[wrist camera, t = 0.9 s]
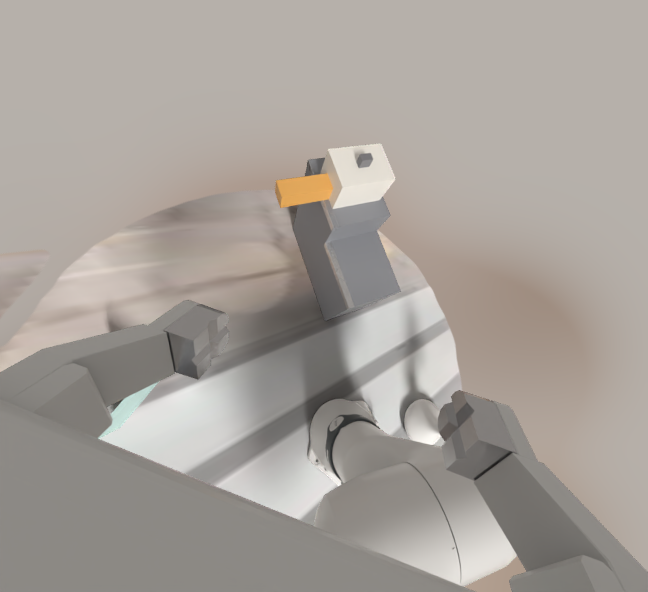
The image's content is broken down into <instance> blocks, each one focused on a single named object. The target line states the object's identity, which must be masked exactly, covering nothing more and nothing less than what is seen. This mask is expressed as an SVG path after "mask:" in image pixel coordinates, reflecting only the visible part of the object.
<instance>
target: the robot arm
mask: <svg viewBox="0 0 648 592" xmlns="http://www.w3.org/2000/svg"><path fill="white" fill-rule="evenodd" d="M228 322H229V318H228V314H226V313H224V312H222V311H219V310H216V309H213V308H211V307H208V306H205V305H202V304H198V303H196V302H193V301H190V300H185V301H183V302H181V303H180V304H178V305H177V306H175V307H174V308H172V309H171V310H169V311H168V312H167V313H165V314H164V315H162V316H161V317H159V318H158V319H156V320H155V321H154V322H152V323H151V324H149V325H148V326H147V325H144V324H142V325H138V326H134V327H130V328H126V329H122V330H118V331H114V332H110V333H106V334H102V335H98V336H94V337H90V338H86V339H82V340H78V341H74V342H70V343H66V344H62V345H57V346H53V347H49V348H45V349H42V350H40V351H38V352H36V353H34V354H33V355H31V356H29V357H27V358H25V359H24V360H22V361H20V362H18V363H16V364H14V365H13V366H11V367H9V368H7V369H5V370H4V371H2V372H0V592H475V591H473V590H470V589H467V588H465V587H464V586H466V585H468V584H470V583H472V582H474V581H476V580H479V579H480V578H483V577H485V576H487V575H489V574H491V573H493V572H495V571H497V570H500V569H501V568H504V567H506V566H507V565H508V564H510V563H511V562H512V561H513V560H514V558H515V557H516V556H518V558H519V559H520V561H521V563H522V564H523V566H524V568H525V569H526V571H527V572H525V573H522V574H518V575H515V576H513V577H512V578H511V579H510V580H509V583H510V586H511V590H512V592H648V572H647V571H646V570H645V569H644V568H643V567H642V566H641V564H640V563H639V562H638V561H637V560H636V559H635V558H633V556H632V555H631V554H630V553H629V552H628V551H627V550H626V549H625V548H624V547H623V546H622V545H621V544H620V543H619V541H618V540H617V539H615V537H614V536H613V535H612V534H611V533H610V532H609V531H608V530H607V529H606V528H605V527H604V526H603V525H602V524H601V523H600V522H599V521H598V520H597V519H596V517H595V516H593V514H592V513H591V512H590V511H589V510H588V509H587V508H586V507H585V506H584V505H583V504H582V503H581V502H580V501H579V500H578V499H577V498H576V497H575V496H574V495H573V493H572V492H571V491H570V490H568V488H567V487H566V486H565V485H564V484H563V483H562V482H561V481H560V480H559V479H558V478H557V477H556V476H555V475H554V474H553V473H552V472H551V471H550V469H549V468H548V467H546V466H545V464H544V463H541V462H538V460H537V459H536V456H535V454H534V452H533V450H532V448H531V446H530V444H529V442H528V440H527V438H526V436H525V434H524V432H523V430H522V428H521V426H520V424H519V421H518V419H517V417H516V415H515V413H514V411H513V410H512V409H511V408H510V407H509V406H508V405H504V404H501V403H498V402H495V401H490V400H488V399H485V398H482V397H479V396H476V395H473V394H470V393H467V392H464V391H460V390H458V391H456V392H455V393H454V394H453V395H452V396H451V398H452V402H451V403H448V404H445V405H444V406H443V407H442V409H441V410H440V413H439V416H438V430H439V434H440V435H441V436H442V438H443V439H444V441H445V442H444V444H443V445H442V447H440V446H434V445H430V444H425V443H421V442H417V441H412V440H407V439H403V438H398V437H394V436H391V435H389V434H387V433H385V432H384V431H383V430H380V428H379V427H378V425H379V424H378V422H377V421H376V420H375V419H374V417H373V415H372V413H371V412H370V410H369V408H368V406H367V404H366V403H365V402H364V401H362V400H358V401H349V400H345V399H334V400H331V401H328V402H326V403H325V404H323V405H322V406H321V407H320V408H319V409H318V410H317V412H316V413H315V415H314V417H313V419H312V422H311V427H310V440H311V445H310V448H309V452H308V459H309V461H310V462H311V463H312V464H313V465H315V466H316V467H317V468H318V469H319V470H320V471H322V472H323V473H324V474H325V475H326V476H328V477H329V478H330V479H331V480H332V481H334V482H335V483H336V484H337V485H338V487H336V488H335V489H333V490H332V491H330V492H328V493H327V494H325V495H324V496H323V498H322V500H321V502H320V504H319V507H318V509H317V513H316V516H315V521H314V526H312V525H310V524H307V523H305V522H302V521H300V520H297V519H295V518H293V517H290V516H288V515H285V514H283V513H280V512H278V511H275V510H273V509H270V508H268V507H265V506H263V505H260V504H258V503H256V502H253V501H251V500H248V499H246V498H243V497H241V496H238V495H236V494H233V493H231V492H228V491H226V490H223V489H221V488H218V487H216V486H214V485H211V484H209V483H206V482H204V481H201V480H199V479H196V478H194V477H191V476H189V475H186V474H184V473H181V472H179V471H177V470H174V469H172V468H169V467H167V466H164V465H162V464H159V463H157V462H154V461H152V460H149V459H147V458H144V457H142V456H140V455H137V454H135V453H132V452H130V451H127V450H125V449H122V448H120V447H117V446H115V445H112V444H110V443H107V442H105V441H103V440H100V439H98V437H99V436H100V435H101V434H102V433H103V432H104V431H106V430H107V429H108V428H109V427H110V426H111V425H112V421H113V419H112V417H111V415H110V413H109V411H108V409H107V407H108V406H110V405H112V404H114V403H116V402H118V401H120V400H122V399H124V398H126V397H128V396H130V395H132V394H134V393H136V392H138V391H140V390H142V389H144V388H146V387H149V386H151V385H153V384H155V383H157V382H159V381H161V380H163V379H165V378H167V377H169V376H171V375H173V374H175V372H176V373H179V374H182V375H185V376H188V377H192V378H195V379H199V378H200V377H201V376H202V375H203V374H204V372H205V371H206V370H207V369H208V368H209V367H210V366H211V359H212V358H215V357H217V356H219V355H220V354H221V353H222V351H223V350H224V348H225V346H226V344H227V342H228V338H229V331H228V329H227V328H226V325H227V323H228ZM364 408H365V409H364ZM316 459H318V461H316Z"/></svg>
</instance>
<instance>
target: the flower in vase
mask: <svg viewBox="0 0 648 592" xmlns="http://www.w3.org/2000/svg"><path fill="white" fill-rule="evenodd" d="M439 413H440V410H439V409H438V408H437V406H436V405H435V404H434V403H432V402H431V401H429V400H426V399H419V400H416V401H414V402H413V403H412V404H411V405H410V406H409V407H408V409H407V411H406V413H405V418H404V425H405V430H406V433H407V435H408V437H409V438H410V439H411V440H412V441H417V442H421V443H425V444H430V445H433V444H434V443H436V442H437V441H438V440H439V438H440V437H441V435H440V434H439V430H438V416H439Z"/></svg>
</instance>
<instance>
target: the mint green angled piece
mask: <svg viewBox="0 0 648 592" xmlns="http://www.w3.org/2000/svg"><path fill="white" fill-rule="evenodd" d="M157 383H158V382H157ZM157 383H155V384H153V385H151V386H149V387H146V388H144V389H142V390H140V391H138V392H136V393H134V394H132V395H130V396H128V397H126V398H124V399H123V401H122V402H121V403H120V404H119V405H118V406H117V408H116V409H115V410H114V411H113V412H112V413H111V414H110V415H111V417H112V419H113V421H112V425H111V426H110V427H109V428H108V429H107V430H106V431H104V432H103V433H102V434H101V435H100V436H99V437H98V439H99V438H101V437H103V436H105V435H107V434H109V433H111V432H113V431H115V430H116V429H118V428H120V427H121V426H122V425H123V424H124V423H125V421H126V420H127V419H128V418H129V417H130V415H131V414H132V413H133V412H134V411H135V409H136V408H137V407H138V406H139V405H140V403H141V402H142V401H143V400H144V399H145V397H146V396H147V395H148V394H149V393H150V392H151V390H152V389H153V388H154V387H155V386H156V384H157Z"/></svg>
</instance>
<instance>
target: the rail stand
mask: <svg viewBox="0 0 648 592" xmlns="http://www.w3.org/2000/svg"><path fill="white" fill-rule="evenodd" d="M324 160H325V158H319V159H311V160H308V163H307V169H306V173H305V176H312V175H319V174H320V173H321V170H322V167H323V163H324ZM389 217H390V213H389V210H388V208H387V206H386V203H385V201H384V198H383V196H382V198H381V199H380V200H378V201H373V202H368V203H362V204H357V205H352V206H347V207H341V208H336V209H332V207H331V204H330V201H329V199H328V200H322V201H317V202H311V203H305V204H300V205H298V208H297V213H296V217H295V221H294V226H293V231H294V233H295V236H296V239H297V242H298V245H299V248H300V251H301V254H302V257H303V259H304V262H305V265H306V268H307V271H308V274H309V277H310V280H311V283H312V286H313V288H314V291H315V294H316V297H317V300H318V303H319V306H320V309H321V312H322V314H323V317H324V320H325V321H327V320H330V319H333V318H336V317H339V316H341V315H344V314H347V313H350V312H353V311H356V310H359V309H362V308H365V307H367V306H369V305H371V304H374V303H376V302H378V301H380V300H383V299H385V298H387V297H389V296H392V295H394V294H396V293H398V292H401V290H400V288H399V285H398V283H397V280H396V278H395V275H394V273H393V270H392V268H391V265H390V263H389V260H388V258H387V255H386V253H385V250H384V248H383V245H382V243H381V240H380V238H379V235H378V233H377V230H378V229H379V227H380V226H381V225H382V224H383V223H384V222H385V221H386V220H387V219H388V218H389Z"/></svg>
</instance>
